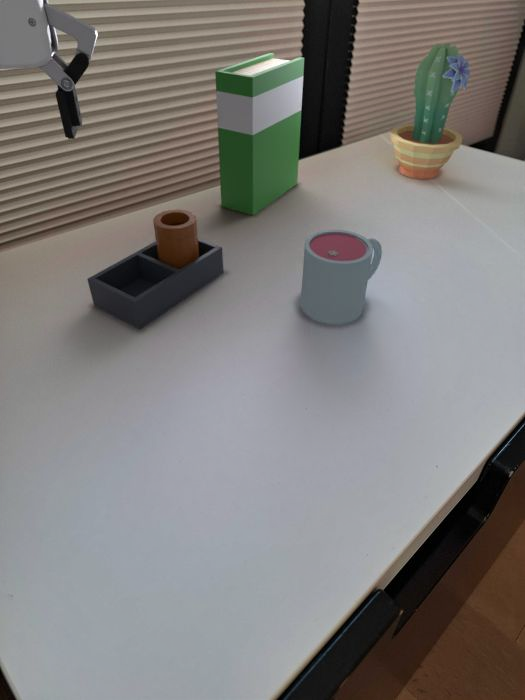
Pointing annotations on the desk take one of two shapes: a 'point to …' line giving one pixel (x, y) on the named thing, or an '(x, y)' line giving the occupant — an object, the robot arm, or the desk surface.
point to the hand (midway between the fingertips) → (18, 136)
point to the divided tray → (152, 283)
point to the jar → (176, 237)
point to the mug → (337, 275)
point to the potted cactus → (431, 114)
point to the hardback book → (258, 130)
